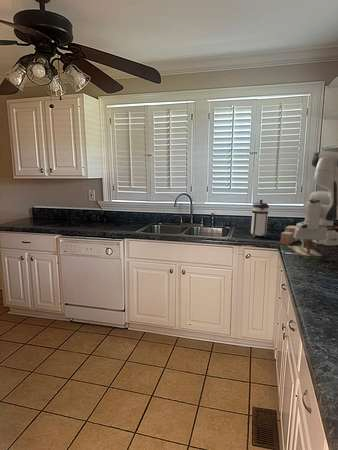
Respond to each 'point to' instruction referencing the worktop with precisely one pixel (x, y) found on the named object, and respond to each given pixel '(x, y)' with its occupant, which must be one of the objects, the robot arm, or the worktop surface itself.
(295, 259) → the worktop surface
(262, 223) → the coffee press
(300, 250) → the lacing board
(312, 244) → the walnut bead
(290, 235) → the stack of blocks
